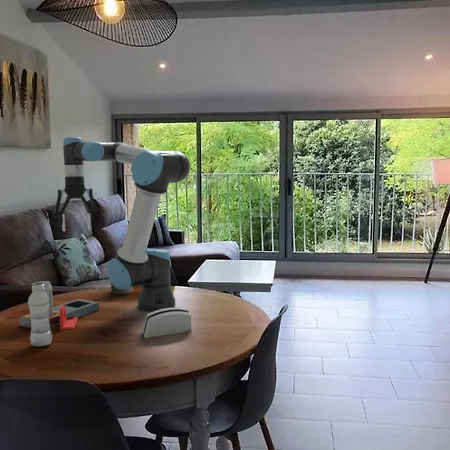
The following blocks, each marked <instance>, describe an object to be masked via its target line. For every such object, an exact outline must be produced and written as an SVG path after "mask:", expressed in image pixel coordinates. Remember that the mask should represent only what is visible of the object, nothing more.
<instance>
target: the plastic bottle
mask: <svg viewBox="0 0 450 450" xmlns="http://www.w3.org/2000/svg"><path fill="white" fill-rule="evenodd" d="M44 289H45V287H44V283H37V282H34V283H32V284H31V291H32V292H31V294H30V295H29V297H28V300H27V302H28V303H27V304H28V308H29V314H31V328H30V329H31V330H30V339H29V340H30V344H31V345H32V346H33V347H37V348H38V347H39V348H40V347H46V346H49V345H50V344H51V343H52V340H53V334H52V329H51V327H50V324H49V303H50V299H49V297H48V295H47V294H46V293H45V292H44Z"/></svg>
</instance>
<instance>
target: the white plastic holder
mask: <svg viewBox="0 0 450 450" xmlns="http://www.w3.org/2000/svg"><path fill="white" fill-rule="evenodd" d="M189 330H191V331H192V314H191V313H190V311H189V310H188V308H183V307H173V308H165V309H161V310H157V311H151V312H150V313H147V315H146V316H145V319H144V324H143V327H142V329H141V334H142V335H143V337H144V338H145V339H147V338H152V337H153V338H154V337H159V336H165V335H166V336H167V335H172V334H178V332H180V333H185V332H184V331H186V332H190V331H189Z"/></svg>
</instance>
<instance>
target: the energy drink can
mask: <svg viewBox="0 0 450 450" xmlns="http://www.w3.org/2000/svg"><path fill="white" fill-rule="evenodd" d="M36 283H44V287H45V289H44V292H45V293H46V294H47V295H48V297H49V299H50V303H49V317H50V316H53V307H54V299H53V286H52V285H51V282H50V281H48V280H41V281H37V282H36Z"/></svg>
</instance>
